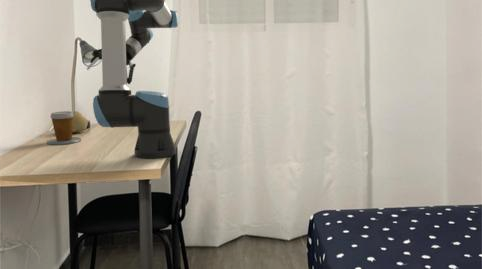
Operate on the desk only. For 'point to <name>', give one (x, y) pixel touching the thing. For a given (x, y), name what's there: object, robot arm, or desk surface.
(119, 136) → the desk surface
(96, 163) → the desk surface
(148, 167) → the desk surface
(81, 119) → the tan rounded lump
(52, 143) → the saucer
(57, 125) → the disposable coffee cup
